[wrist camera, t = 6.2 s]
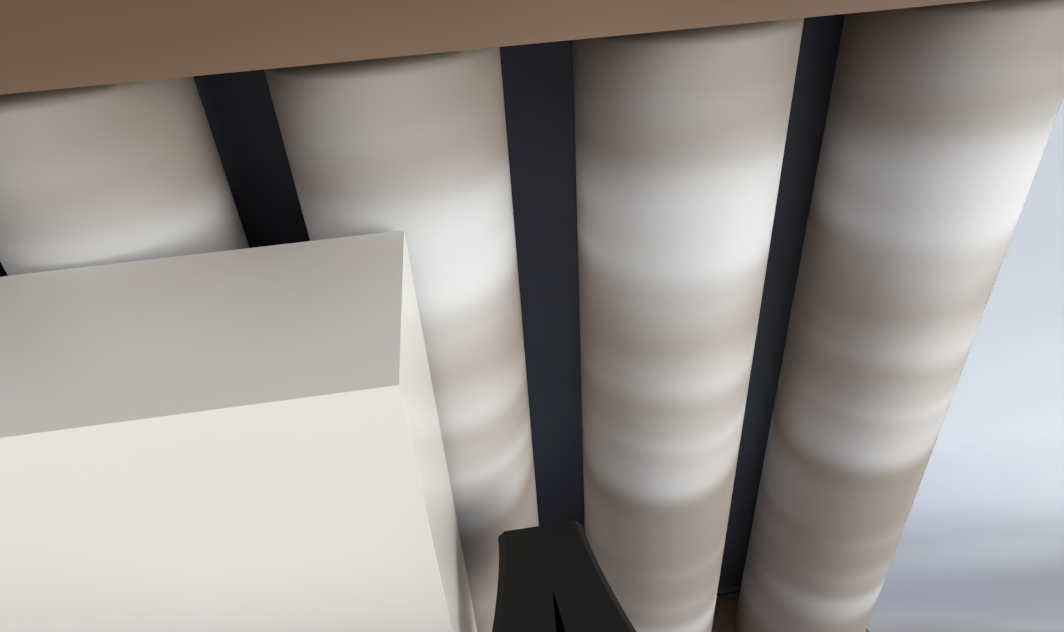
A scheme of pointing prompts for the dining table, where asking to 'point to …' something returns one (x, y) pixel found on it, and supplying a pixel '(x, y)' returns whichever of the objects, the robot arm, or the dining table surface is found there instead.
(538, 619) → the robot arm
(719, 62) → the roller track
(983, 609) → the dining table surface
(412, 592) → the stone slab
